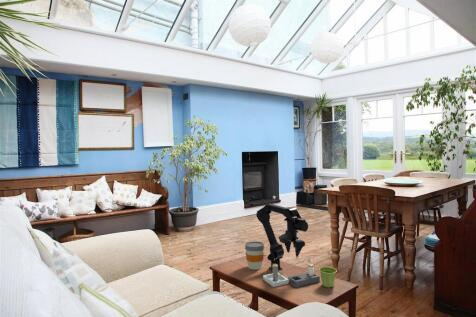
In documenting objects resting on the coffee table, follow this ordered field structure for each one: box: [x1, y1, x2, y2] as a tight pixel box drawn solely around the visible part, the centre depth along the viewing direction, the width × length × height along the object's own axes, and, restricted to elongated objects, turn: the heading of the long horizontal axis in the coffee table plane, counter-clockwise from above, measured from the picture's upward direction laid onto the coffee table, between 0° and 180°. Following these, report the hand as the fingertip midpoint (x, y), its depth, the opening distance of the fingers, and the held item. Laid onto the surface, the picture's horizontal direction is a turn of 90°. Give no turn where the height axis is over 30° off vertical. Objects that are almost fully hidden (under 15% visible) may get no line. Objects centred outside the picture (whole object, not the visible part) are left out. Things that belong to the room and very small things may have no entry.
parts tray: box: [262, 272, 290, 288], centre depth 179 cm, size 12×10×2 cm
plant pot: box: [318, 266, 338, 288], centre depth 172 cm, size 9×9×9 cm
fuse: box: [307, 263, 315, 277], centre depth 179 cm, size 3×3×9 cm
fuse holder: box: [287, 272, 321, 288], centre depth 177 cm, size 8×16×3 cm, turn 114°
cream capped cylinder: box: [272, 264, 279, 281], centre depth 179 cm, size 3×3×9 cm
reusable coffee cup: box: [244, 241, 265, 270], centre depth 203 cm, size 13×13×15 cm
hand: (292, 254), depth 187 cm, fingers open, 9 cm apart
